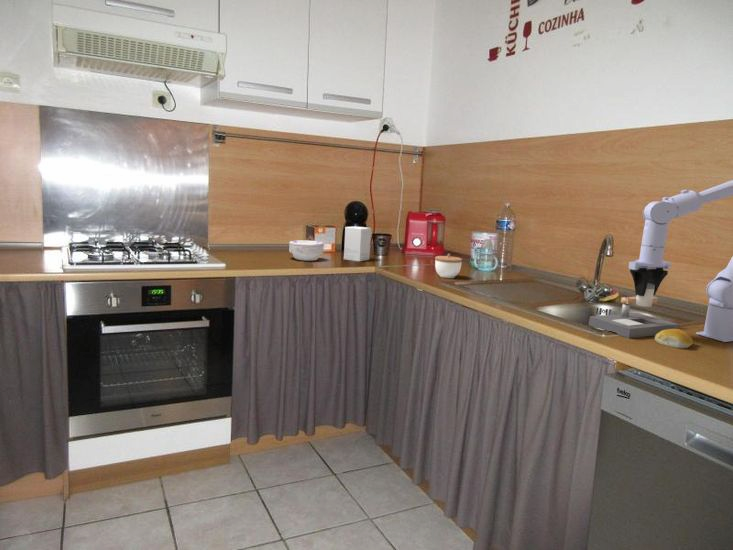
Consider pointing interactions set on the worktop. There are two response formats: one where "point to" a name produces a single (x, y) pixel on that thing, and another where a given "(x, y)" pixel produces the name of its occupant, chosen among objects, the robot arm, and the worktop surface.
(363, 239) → the supplement box
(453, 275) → the lidded jar
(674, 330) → the bread roll
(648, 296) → the plug
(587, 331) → the worktop surface
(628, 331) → the socket panel
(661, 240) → the robot arm
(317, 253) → the paper bowls
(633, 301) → the tan long bar
